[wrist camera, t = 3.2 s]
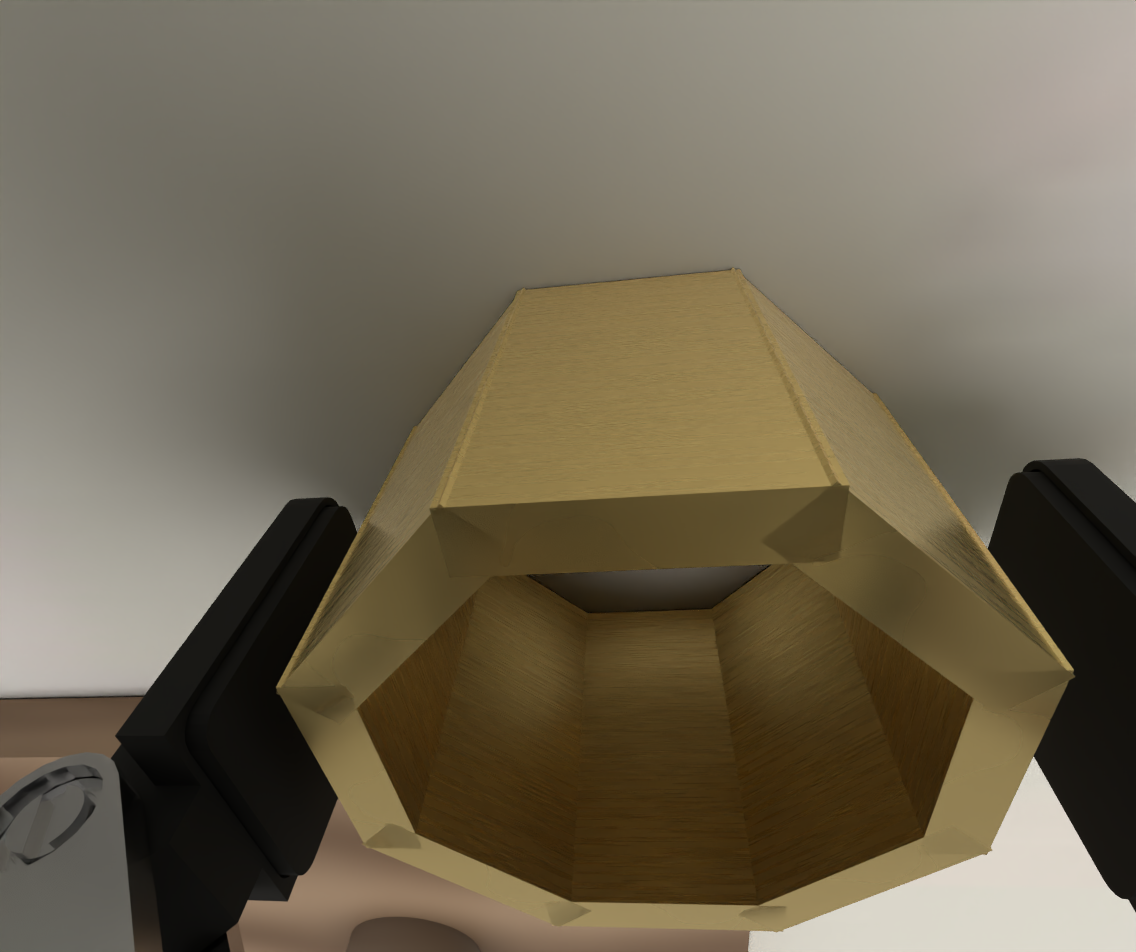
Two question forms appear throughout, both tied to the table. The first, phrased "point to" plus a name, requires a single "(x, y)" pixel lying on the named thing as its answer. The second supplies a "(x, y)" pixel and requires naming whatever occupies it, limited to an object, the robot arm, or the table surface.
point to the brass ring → (670, 629)
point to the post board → (343, 872)
